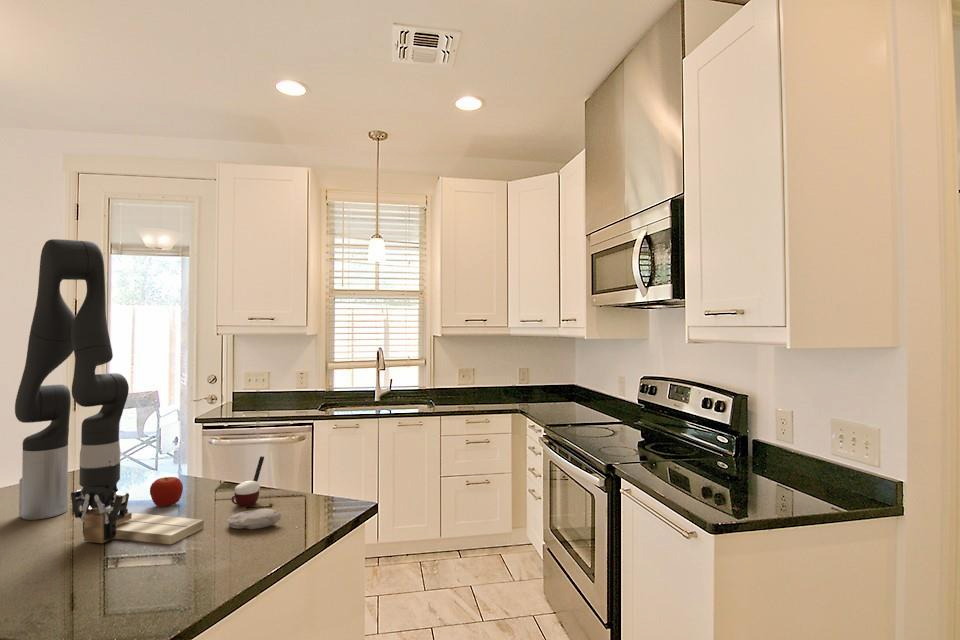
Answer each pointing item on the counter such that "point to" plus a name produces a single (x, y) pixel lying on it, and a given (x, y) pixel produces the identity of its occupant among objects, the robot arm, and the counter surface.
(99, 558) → the counter surface
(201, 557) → the counter surface
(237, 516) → the fossil
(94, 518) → the block
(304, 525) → the counter surface
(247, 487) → the cocoa
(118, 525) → the board
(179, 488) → the apple
